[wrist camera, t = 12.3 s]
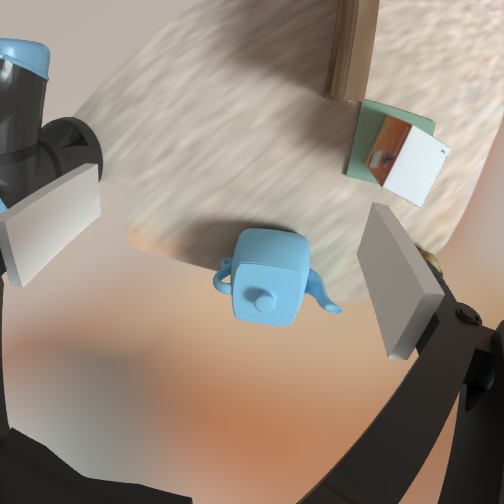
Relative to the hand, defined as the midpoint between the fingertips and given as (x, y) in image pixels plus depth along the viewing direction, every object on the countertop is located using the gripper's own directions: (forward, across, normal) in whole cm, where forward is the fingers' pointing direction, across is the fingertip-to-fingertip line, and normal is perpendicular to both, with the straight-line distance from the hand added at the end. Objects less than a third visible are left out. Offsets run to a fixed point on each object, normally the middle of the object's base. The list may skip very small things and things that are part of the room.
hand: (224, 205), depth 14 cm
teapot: (+30, +5, -21) cm, 37 cm away
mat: (+29, +17, 0) cm, 34 cm away
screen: (+30, +8, +13) cm, 34 cm away
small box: (+29, +17, 0) cm, 34 cm away
